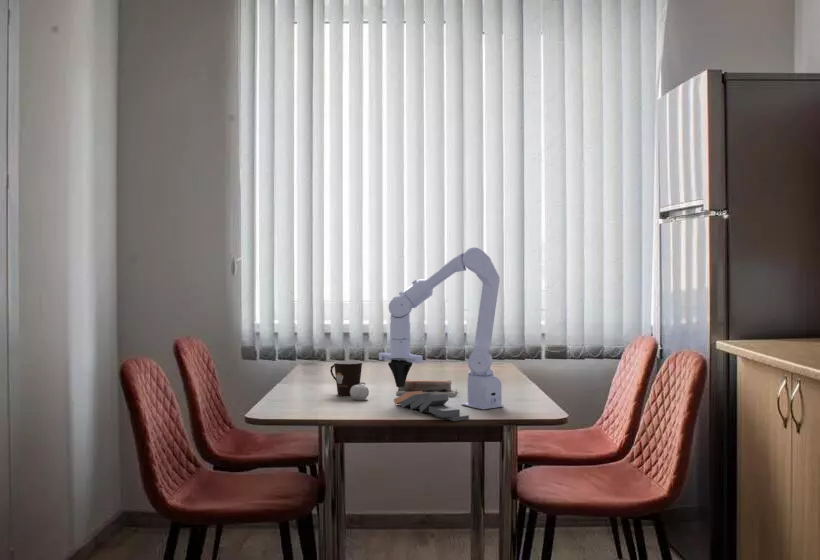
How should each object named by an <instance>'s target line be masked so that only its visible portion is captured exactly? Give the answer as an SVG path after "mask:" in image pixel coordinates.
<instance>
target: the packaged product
mask: <svg viewBox="0 0 820 560" xmlns="http://www.w3.org/2000/svg"><path fill="white" fill-rule="evenodd" d="M414 391H422V393H423V394H427V393H430V396H431V395H442V394H447V395H448V398H451V397H453V398H454V397H455V396H456V394H457V393H458V389H457V388H454V389H452V380H451V379H450V380H442V379H415V378H412V379H411V378H406V381H405V386H404V387H397V390H396V393H395V394H396V396H400V395H403V394H405V393H407V392H414Z"/></svg>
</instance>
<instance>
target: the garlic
mask: <svg viewBox="0 0 820 560" xmlns="http://www.w3.org/2000/svg"><path fill="white" fill-rule="evenodd" d="M369 392H370V391H369V388H368V387H367V386H366V382H361V381H360V383H359V385H354V386H352V388H351V389H350V395H351V396H350V397H351V398H352V400H354V399H355V401H364V400H366V399H367V398H368V396H369Z"/></svg>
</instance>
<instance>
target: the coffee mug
mask: <svg viewBox="0 0 820 560" xmlns="http://www.w3.org/2000/svg"><path fill="white" fill-rule="evenodd" d="M362 366H363V361H360V360H338V361H334V362H333V364H332V365H331V367H330V374H331V376H332V377H333V379H334V381H335V382H336V391H337V396H338V395H339V397H344V396H350V397H351V395H350V389H351V388H352V386H354V385H359V383H360V382H361V377H362V376H361V375H362ZM333 369H334V373H333ZM334 374H335V375H334Z"/></svg>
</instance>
